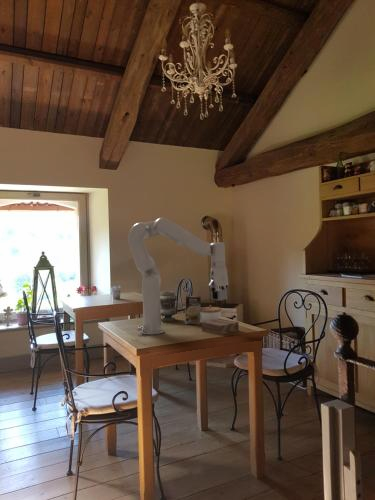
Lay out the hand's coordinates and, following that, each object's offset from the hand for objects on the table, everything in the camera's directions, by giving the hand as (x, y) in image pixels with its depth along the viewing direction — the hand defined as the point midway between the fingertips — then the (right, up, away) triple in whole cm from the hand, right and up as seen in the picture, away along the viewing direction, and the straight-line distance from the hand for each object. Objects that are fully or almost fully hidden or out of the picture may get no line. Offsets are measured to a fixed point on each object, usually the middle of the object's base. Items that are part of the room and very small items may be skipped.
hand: (219, 298), depth 209 cm
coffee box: (-14, -18, +22) cm, 32 cm away
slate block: (0, -1, 0) cm, 1 cm away
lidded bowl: (-3, -18, +18) cm, 26 cm away
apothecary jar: (-29, -18, +34) cm, 48 cm away
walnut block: (+1, -18, 0) cm, 18 cm away
